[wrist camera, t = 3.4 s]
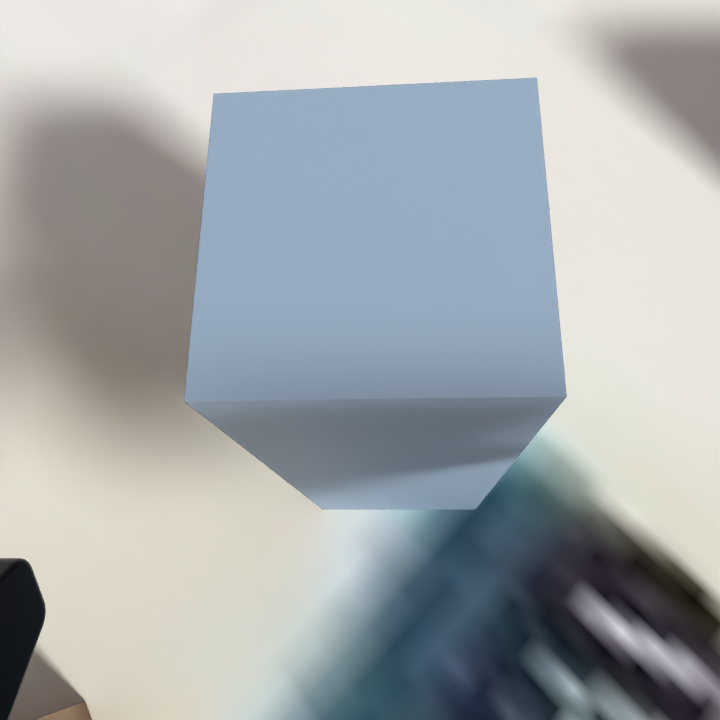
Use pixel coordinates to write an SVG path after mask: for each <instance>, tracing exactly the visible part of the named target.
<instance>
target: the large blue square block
mask: <svg viewBox="0 0 720 720" xmlns="http://www.w3.org/2000/svg"><path fill="white" fill-rule="evenodd" d="M566 397H567V395H566V385H565V374H564V363H563V352H562V342H561V331H560V320H559V310H558V299H557V288H556V277H555V267H554V256H553V245H552V234H551V224H550V213H549V202H548V192H547V181H546V170H545V159H544V149H543V138H542V127H541V116H540V106H539V95H538V84H537V78H522V79H502V80H482V81H462V82H441V83H421V84H401V85H381V86H361V87H341V88H321V89H301V90H281V91H260V92H240V93H220V94H214V95H213V105H212V116H211V126H210V137H209V147H208V158H207V168H206V179H205V189H204V199H203V210H202V220H201V231H200V241H199V252H198V262H197V273H196V283H195V293H194V304H193V314H192V325H191V335H190V346H189V356H188V367H187V377H186V387H185V398H184V402H186V403H187V404H188V405H189V406H191V407H192V408H193V409H195V410H196V411H197V412H198V413H200V414H201V415H202V416H204V417H205V418H206V419H207V420H209V421H210V422H211V423H213V424H214V425H215V426H216V427H218V428H219V429H220V430H222V431H223V432H224V433H225V434H227V435H228V436H229V437H231V438H232V439H233V440H234V441H236V442H237V443H238V444H240V445H241V446H242V447H243V448H245V449H246V450H247V451H248V452H250V453H251V454H252V455H254V456H255V457H256V458H257V459H259V460H260V461H261V462H263V463H264V464H265V465H266V466H268V467H269V468H270V469H272V470H273V471H274V472H275V473H277V474H278V475H279V476H281V477H282V478H283V479H284V480H286V481H287V482H288V483H290V484H291V485H292V486H293V487H295V488H296V489H297V490H299V491H300V492H301V493H302V494H304V495H305V496H306V497H308V498H309V499H310V500H311V501H313V502H314V503H315V504H316V505H318V506H319V507H320V508H322V509H476V508H477V507H478V505H479V504H480V503H481V502H482V500H483V499H484V498H485V497H486V495H487V494H488V493H489V492H490V490H491V489H492V488H493V487H494V486H495V484H496V483H497V482H498V481H499V479H500V478H501V477H502V476H503V474H504V473H505V472H506V471H507V469H508V468H509V467H510V466H511V465H512V463H513V462H514V461H515V460H516V458H517V457H518V456H519V455H520V453H521V452H522V451H523V450H524V449H525V447H526V446H527V445H528V444H529V442H530V441H531V440H532V439H533V437H534V436H535V435H536V434H537V432H538V431H539V430H540V429H541V428H542V426H543V425H544V424H545V423H546V421H547V420H548V419H549V418H550V416H551V415H552V414H553V413H554V412H555V410H556V409H557V408H558V407H559V405H560V404H561V403H562V402H563V400H564V399H565V398H566Z"/></svg>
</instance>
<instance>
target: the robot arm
mask: <svg viewBox="0 0 720 720" xmlns="http://www.w3.org/2000/svg"><path fill="white" fill-rule="evenodd" d="M44 619H45V603H44V600H43V597H42V594H41V591H40V589H39V586H38V583H37V580H36V578H35V575H34V572H33V570H32V567H31V565H30V563H28V562H27V561H26V560H25V559H21V558H0V720H9V717H10V714H11V711H12V709H13V706H14V703H15V700H16V698H17V695H18V692H19V689H20V687H21V684H22V681H23V679H24V676H25V673H26V670H27V668H28V665H29V662H30V659H31V657H32V654H33V651H34V648H35V646H36V643H37V640H38V637H39V635H40V632H41V629H42V627H43V623H44Z"/></svg>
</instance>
